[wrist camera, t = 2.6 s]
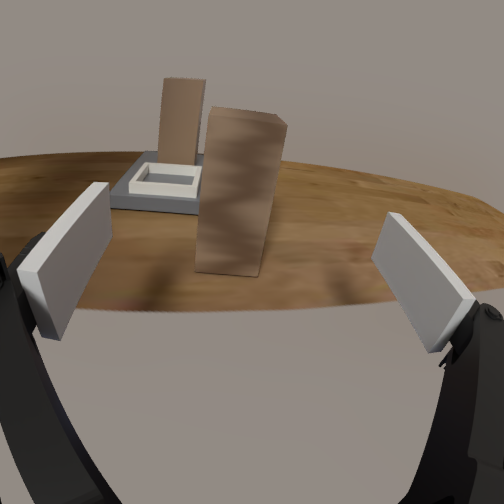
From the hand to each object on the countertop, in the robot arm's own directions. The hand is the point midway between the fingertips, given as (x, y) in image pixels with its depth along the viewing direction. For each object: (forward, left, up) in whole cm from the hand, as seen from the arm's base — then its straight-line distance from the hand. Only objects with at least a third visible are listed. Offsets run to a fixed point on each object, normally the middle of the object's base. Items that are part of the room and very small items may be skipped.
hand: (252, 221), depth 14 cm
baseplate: (-14, +24, -9) cm, 29 cm away
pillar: (-3, +10, -9) cm, 13 cm away
